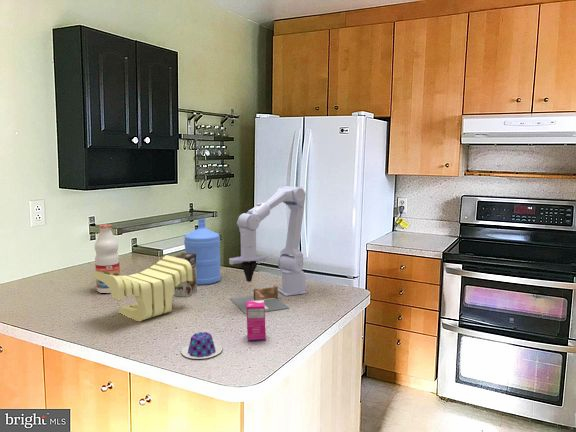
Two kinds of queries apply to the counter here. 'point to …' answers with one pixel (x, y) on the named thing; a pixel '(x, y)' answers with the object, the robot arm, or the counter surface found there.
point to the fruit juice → (106, 256)
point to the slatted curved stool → (149, 287)
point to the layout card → (270, 303)
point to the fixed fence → (268, 292)
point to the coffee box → (187, 286)
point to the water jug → (204, 253)
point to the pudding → (201, 346)
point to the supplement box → (256, 321)
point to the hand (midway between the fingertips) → (248, 281)
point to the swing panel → (258, 296)
